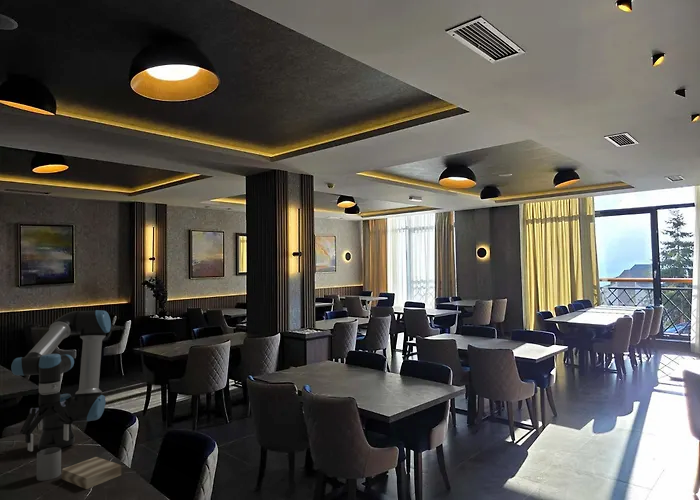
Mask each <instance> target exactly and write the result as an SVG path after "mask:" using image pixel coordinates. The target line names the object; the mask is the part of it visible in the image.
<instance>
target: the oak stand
mask: <svg viewBox="0 0 700 500" xmlns="http://www.w3.org/2000/svg"><path fill="white" fill-rule="evenodd" d="M120 476H122V464H119V463H117V462H114V461H110V460H108V459H104V458H101V457H99V456H94V457H92V458H90V459H89V458H88V459H85V460H83V461H80V462H78V463H75V464H73V465H70V466H66V467H63V468H61V480H63V481H65V482H67V483H70V484H73V485H75V486H78V487H80V488H83V489H85V490H89V489H90V488H92V487H95V486H98V485H100V484H103V483H106V482H108V481H109V480H110V481H111V480H113V479H115V478H117V477H120Z"/></svg>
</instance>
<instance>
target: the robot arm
mask: <svg viewBox="0 0 700 500" xmlns="http://www.w3.org/2000/svg"><path fill="white" fill-rule="evenodd" d="M111 329H112V322H111V317H110V315H109V313H108V312H107V310H100V309H99V310H98V309H96V310H73V311H70V312H67V313H65V314H63V315H61V316H60V317H58V318H56V319H55V320H54V321H53V322H51V324H50V325H49V329H48V331H47V332H46V333H45V334H44V335H43V336H42V337H41V338H40V340H39V341H38V342H37V343H35V345H34V346H33V347H32V349H30V350H29V351H28V353H27V354H26V355H25V356H24V357H22V356H20V357H16V358H14V359H13V360H12V363H11V367H10V369H11V373H12V374H13V375H14V376H24V377H25V376H35V375H38V380H39V381H38V393H39V394H38V407H30V408H29V410H28V411H29V412H28V415H27V417H26V419H25V421H24V422H23V425H22V426H21V429H20V431H19V434H21V435H25V440H24V441H25V443H26V444H27V451H29V452H33V451H34V433H33V432H34V430H35V429H36V428H37V427H38V425H39V424H40V422H41V421H42V423H41V424H42V427H41V428H42V431H41V434H40V436H39V439H38V441H37V449H38V450H39V451H41V450H44V449H47V448H53V447H58V448H61V449H63V448H66V447H69V446H71V445H73V444H74V443H75V442H76V441H75V439H76V438H75V433H74V432H73V429H72V424H73V423H77V422H79V423H80V422H91V421H92V422H93V421H97V420H99V419H100V418H101V417H102V415H103V414H104V411H105V407H106V402H107V401H106V396H105V395H103V394H102V392H103V391H102V390H101V389H100V388H99V386H100V376H101V375H100V374H101V362H102V361H101V360H102V348H103V347H102V346H103V340H104V339H105V338H107V337H106V336H107V334H108V333H110V331H111ZM70 335H79V338H80V339H81V340H82V349H81V359H80V371H79V373H80V374H79V384H78V385H79V386H78V390H77V391H76V392H75V393H74V396H72V395H71V393H63V394H61V392H60V391H61V376H62V375H61V374H64V373H67V372H69V371H70V370H71V369H72V368H74V366H75V365H74V364H75V359H74V358H73V356H72V355H71V354H68V353H67V354H59V353H53V352H54V351H55V350H56V348H58V346H59V345H60V344H61V342H62V341H63V340H64V339H66V338H68V337H69V336H70ZM37 413H38V414H37ZM35 416H36V417H35Z"/></svg>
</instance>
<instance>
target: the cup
mask: <svg viewBox="0 0 700 500" xmlns="http://www.w3.org/2000/svg"><path fill="white" fill-rule="evenodd" d="M61 475H62V448H58V447H53V448H47V449H44V450H39V451H38V452H36V480H37V481H38V482H39V481H40V482H41V481H42V482H43V481H44V482H45V481H50V480H53V479H56V478H58V477H60V476H61Z"/></svg>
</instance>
